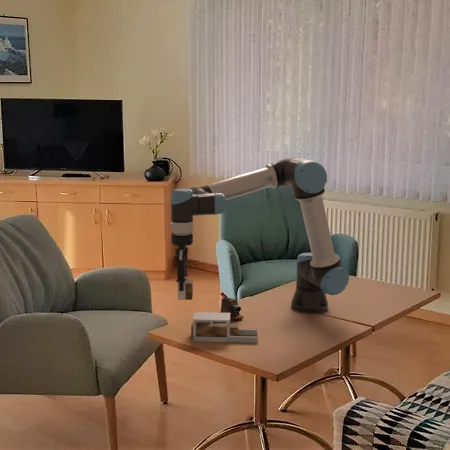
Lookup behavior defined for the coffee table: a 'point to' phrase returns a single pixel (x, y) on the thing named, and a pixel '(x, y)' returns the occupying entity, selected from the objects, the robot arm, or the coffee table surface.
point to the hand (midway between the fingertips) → (182, 296)
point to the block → (189, 289)
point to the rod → (214, 330)
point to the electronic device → (231, 308)
